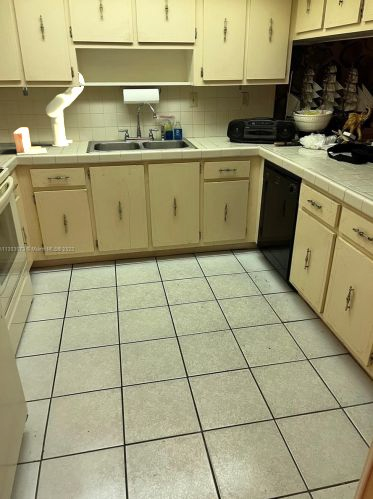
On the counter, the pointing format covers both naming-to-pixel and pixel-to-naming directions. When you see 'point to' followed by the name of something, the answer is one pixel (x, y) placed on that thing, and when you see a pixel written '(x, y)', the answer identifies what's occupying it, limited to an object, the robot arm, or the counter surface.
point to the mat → (34, 151)
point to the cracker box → (22, 140)
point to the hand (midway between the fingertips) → (25, 95)
